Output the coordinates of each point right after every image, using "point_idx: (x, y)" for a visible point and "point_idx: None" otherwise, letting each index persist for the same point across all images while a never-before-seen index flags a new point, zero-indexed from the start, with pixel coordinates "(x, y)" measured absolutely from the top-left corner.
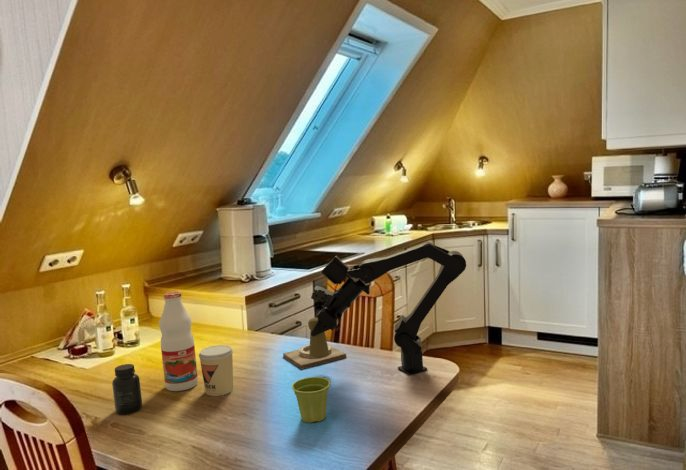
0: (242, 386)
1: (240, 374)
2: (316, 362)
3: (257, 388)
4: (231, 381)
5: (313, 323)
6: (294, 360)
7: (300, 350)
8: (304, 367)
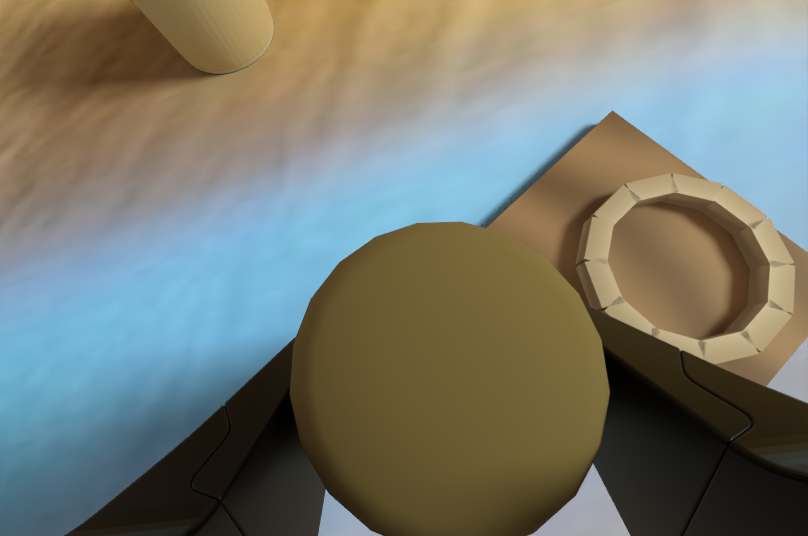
0: (261, 91)
1: (378, 38)
2: None
3: (239, 150)
4: (194, 44)
5: (295, 349)
6: (521, 197)
7: (634, 188)
8: None
